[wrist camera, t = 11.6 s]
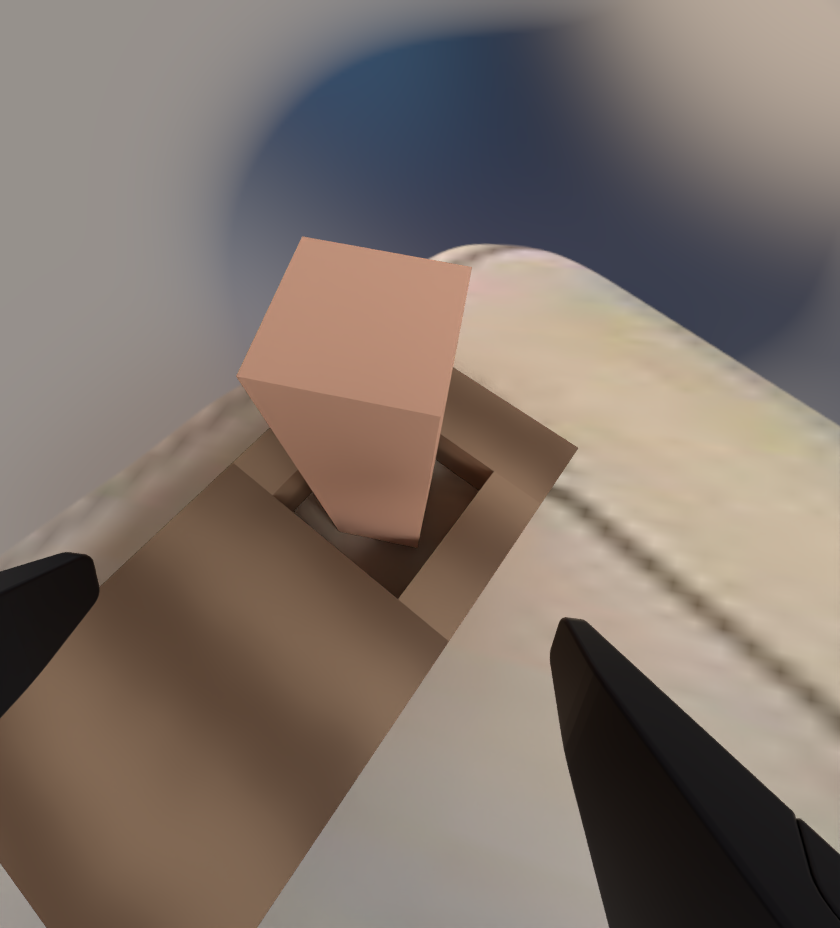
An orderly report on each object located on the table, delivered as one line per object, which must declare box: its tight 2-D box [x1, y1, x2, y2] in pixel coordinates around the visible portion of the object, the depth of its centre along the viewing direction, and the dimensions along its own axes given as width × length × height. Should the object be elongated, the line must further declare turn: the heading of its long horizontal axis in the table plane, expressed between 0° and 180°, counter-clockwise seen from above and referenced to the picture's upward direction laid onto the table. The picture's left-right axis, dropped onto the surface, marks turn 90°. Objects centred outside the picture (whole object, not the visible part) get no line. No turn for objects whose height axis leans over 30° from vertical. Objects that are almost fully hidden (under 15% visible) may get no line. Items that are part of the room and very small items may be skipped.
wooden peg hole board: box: [0, 368, 578, 928], centre depth 17 cm, size 24×12×3 cm, turn 142°
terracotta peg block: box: [236, 237, 472, 548], centre depth 14 cm, size 4×4×13 cm
